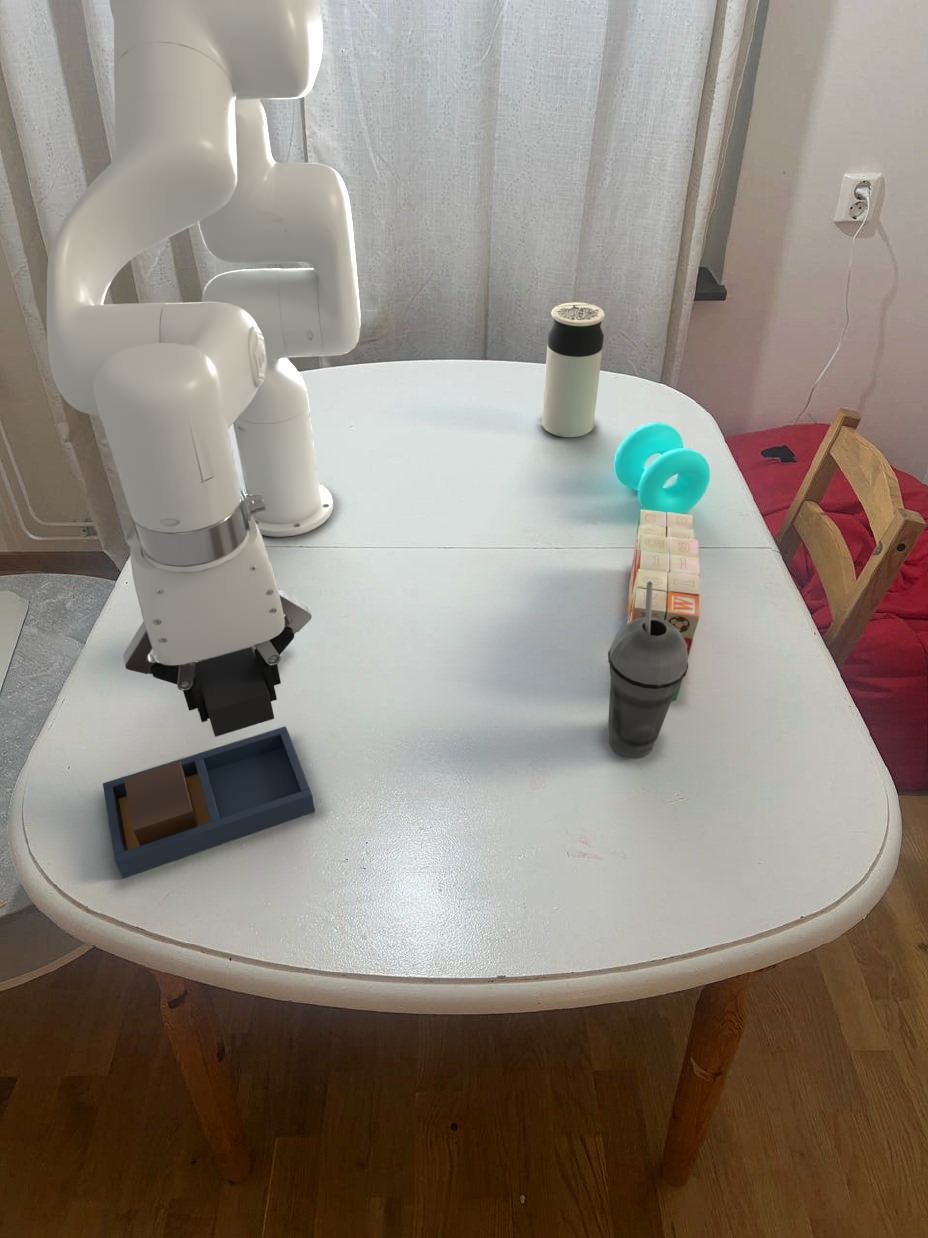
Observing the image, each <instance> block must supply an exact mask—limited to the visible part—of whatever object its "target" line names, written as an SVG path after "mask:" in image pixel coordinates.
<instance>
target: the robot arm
mask: <svg viewBox="0 0 928 1238" xmlns="http://www.w3.org/2000/svg"><path fill="white" fill-rule="evenodd" d="M109 7H110V12H111V16H112V19H113V77H114V78H113V79H114V80H113V81H114V86H113V87H114V146H115V147H114V148H115V149H114V152H115V153H114V159H113V160H112V162H110V163H109V165H108V166H107V167H106V168H105V169H104V170H103V171H101V173H99V174H98V176H97V177H95V179H93V181H92V182H91V183H90V184H89V185H88V186H87V188H86V189H85V190H84V191H83V193H82V194H81V195H80V196H79V198H78V199H77V200H76V202H75V203H74V205H73V206H72V208H71V209H70V211H69V212H68V214H67V215H66V217H65V218H64V220H63V222H62V224H61V225H60V227H59V229H58V231H57V233H56V235H55V237H54V238H53V242H52V244H51V248H50V252H49V255H48V261H47V268H46V343H47V353H48V363H49V366H50V371H51V375H52V378H53V381H54V383H55V385H56V388H57V390H58V392H59V393H60V395H61V396H62V398H63V399H64V400H65V402H66V403H67V404H68V405H70V406H71V407H72V408H74V409H75V410H77V411H78V412H80V413H82V414H85V415H88V416H89V415H91V416H94V417H100V420H101V423H102V426H103V429H104V432H105V436H106V439H107V442H108V446H109V449H110V452H111V456H112V458H113V462H114V466H115V469H116V472H117V475H118V479H119V481H120V485H121V487H122V492H123V495H124V499H125V501H126V505H127V508H128V512H129V514H130V517H131V520H132V523H133V524H132V525H133V527H134V530H135V533H136V536H135V537H134V538H133V539H132V541H131V543H130V545H129V546H130V547H129V548H130V549H129V551H130V552H129V553H130V565H131V574H132V579H133V583H134V588H135V592H136V596H137V600H138V604H139V608H140V613H141V616H142V620H143V621H142V623H141V624H140V626H139V627H138V629H137V631H136V633H135V634H134V636H133V637H132V639H131V641H130V642H129V644H128V646H127V647H126V649H125V650H124V653H123V654H122V659H123V663H124V667H125V669H126V670H127V671H132V672H136V673H140V674H144V675H148V674H150V675H152V677H153V678H155V679H158V680H161V681H164V682H166V683H169V684H173V685H176V687H177V689H178V690H180V691H182V692H183V695H184V700H185V703H186V705H187V708H188V709H187V710H188V711H189V712H190V711H193V710H197V711H198V714H199V718H200V721H201V723H205V722H208V720H210V719H209V715H208V712H207V708H206V705H205V701H204V696H203V692H202V689H201V686H200V682H199V679H198V675H197V672H196V669H195V663H196V662H199V661H201V660H202V659H206V658H210V657H213V656H217V655H221V654H224V653H228V652H231V651H235V650H238V649H242V648H245V647H249V646H252V645H254V646H255V647H256V649H254V654H255V658H256V661H257V663H258V666H259V669H260V671H261V674H262V676H263V679H264V681H265V683H266V686H267V688H268V691H269V694H270V699H271V702H276V701H278V697H277V692H276V688H275V686H278V685H281V684H282V681H281V676H280V671H279V666H278V664H279V663H280V662H281V659H282V657H280V654H281V653H283V652H284V651H285V650H286V648H287V647H288V646H289V645H290V643H291V642H292V641H293V640H294V638H295V634H296V633H299V632H300V631H301V630H302V629H303V628H304V627H305V626H306V625H307V624H308V623H309V622H310V621H311V620H312V619H313V616H312V613H311V611H310V609H309V607H308V605H307V604H306V603H304V602H302V601H300V599H297V598H296V597H293V596H292V595H291V594H289V593H288V592H286V591H284V590H282V589H281V588H280V587H278V584H277V580H276V576H275V573H274V569H273V566H272V563H271V560H270V556H269V554H268V551H267V549H266V545H265V542H264V538H263V536H266V537H275V538H284V537H285V538H286V537H293V536H298V535H302V534H306V533H308V532H312V531H313V530H315V529H317V528H318V527H320V526H321V525H323V524H324V523H325V522H326V521H327V520H328V519H329V518H330V517H331V515H332V513H333V510H334V500H333V496H332V494H331V492H330V491H329V489H328V488H326V486H324V485H322V484H320V482H319V481H320V480H319V473H318V465H317V457H316V448H315V441H314V434H313V426H312V418H311V410H310V403H309V402H310V401H309V394H308V389H307V386H306V383H305V381H304V379H303V377H302V375H301V373H300V372H299V371H298V370H297V368H296V367H295V366H294V364H293V363H292V362H291V361H290V360H289V359H290V358H303V357H304V358H308V357H310V358H311V357H330V356H342V355H346V354H347V353H349V352H351V351H353V350H354V349H355V347H356V346H357V344H358V343H359V339H360V335H361V306H360V305H361V303H360V294H359V282H358V281H359V280H358V271H357V259H356V248H355V238H354V226H353V219H352V218H353V217H352V210H351V204H350V197H349V195H348V194H349V193H348V190H347V187H346V185H345V182H344V180H343V178H342V177H341V175H340V174H339V172H338V171H336V169H334V168H333V167H331V166H330V165H327V164H324V163H320V162H319V163H318V162H277V161H275V160H274V158H273V156H272V151H271V143H270V136H269V130H268V121H267V115H266V111H265V108H264V105H263V103H262V101H261V100H294V99H296V100H297V99H301V98H303V97H305V96H307V95H308V94H309V93H310V91H311V90H312V88H313V86H314V83H315V81H316V78H317V75H318V72H319V69H320V65H321V62H322V54H323V46H324V29H323V28H324V27H323V19H322V11H321V5H320V3H319V0H109ZM196 224H198V228H199V233H200V235H201V238H202V241H203V244H204V246H205V248H206V249H207V251H208V252H209V254H210V255H211V256H212V257H214V259H216V260H218V261H221V262H224V263H229V264H238V265H268V264H273V265H274V264H308V265H310V266H311V267H306V268H305V267H303V268H300V267H299V268H298V267H297V268H280V267H279V268H252V269H251V268H249V269H248V268H247V269H235V270H231V271H227V272H223V273H219V274H217V275H216V276H214V277H213V278H212V279H211V280H208V282H207V283H206V285H205V287H204V289H203V291H202V295H201V301H198V302H197V301H194V302H193V301H192V302H191V301H190V302H136V303H135V302H133V303H107V304H105V299H106V296H107V292H108V289H109V288H110V286H111V284H112V281H113V280H114V279H115V278H116V276H117V275H118V273H119V272H120V271H121V270H122V269H123V268H124V267H125V266H126V265H127V264H128V263H129V262H130V261H132V260H133V259H134V258H135V257H136V256H138V255H139V254H142V253H143V252H144V251H146V250H148V249H149V248H151V247H153V246H155V245H157V244H159V243H161V242H163V241H165V240H167V239H168V238H171V237H172V236H174V235H177V234H179V233H181V232H183V231H185V230H186V229H188V228H190V227H192V226H194V225H196ZM231 426H232V427H233V431H234V436H235V441H236V446H237V452H238V456H239V461H240V462H239V463H240V467H241V472H242V478H243V483H244V487H245V488H244V489H245V491H244V490H241V486H240V481H239V475H238V471H237V465H236V461H235V455H234V450H233V447H232V442H231V437H230V432H229V430H230V428H231ZM245 492H246V493H245ZM152 651H153V653H154V654H153V653H152Z"/></svg>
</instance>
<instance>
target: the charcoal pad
mask: <svg viewBox="0 0 928 1238" xmlns="http://www.w3.org/2000/svg"><path fill="white" fill-rule="evenodd" d="M195 669H196V672H197V675H198V679H199V682H200V686H201V689H202V692H203V696H204V701H205V705H206V708H207V712H208V715H209V719H208V720H209V722H210V725H211V729H212V731H213V736H214V737H215V738H216V737H220V736H224V735H226V734H230V733H233V732H236V731H239V730H242V729H245V728H250V727H253V726H255V725H258V724H259V725H260V724H263V723H266V722H269V721H272V720H274V719H275V713H274V709H273V704H272V701H271V699H270V694H269V691H268V688H267V686H266V683H265V681H264V679H263V676H262V674H261V671H260V669H259V666H258V663H257V661H256V658H255V654H254V651H253V649H252V647H249V648H246V649H242V650H238V651H235V652H231V653H228V654H224V655H221V656H217V657H213V658H210V659H206V660H203V661H201V660H198V661H196V663H195Z"/></svg>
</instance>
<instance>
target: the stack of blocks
mask: <svg viewBox="0 0 928 1238" xmlns="http://www.w3.org/2000/svg"><path fill="white" fill-rule="evenodd" d="M633 549H634V551H633V557H632V564H631V571H630V579H629V586H628V595H627V596H628V597H627V605H626V621H625V625H626V624H628V623H629V622H631V621H633V620H636V619H638V618H643V617H645V612H646V591H647V582H652V605H651V617H656V618H660V619H663V620H665V621H667V622H669V623H671V624H672V625H673V626H674V627H676V628H677V629H678V630H679V632H680V633H681V635H682V636H683V638H684V640H685V642H686V646H687V652H688V658H689V657H690V655H691V654H690V653H691V649H692V645H693V642H694V637H695V633H696V631H697V627H698V623H699V620H700V610H701V609H700V594H701V586H700V575H701V570H700V569H701V568H700V558H699V556H700V555H699V554H700V553H699V539H695V531H694V515H693V514H689V513H688V514H685V513H683V514H679V513H672V512H667V513H666V512H659V511H651V510H644V509H643V508H641V509H640V510H639V515H638V521H637V527H636V537H635V543H634V548H633ZM682 683H683V680H682V681H681V683H680V685H679V687H678V688H677V689H676V690H675V693H674V696H673V698H672V701H674V702H675V701H677V699H678V696H679V694H680V690H681V686H682Z"/></svg>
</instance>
